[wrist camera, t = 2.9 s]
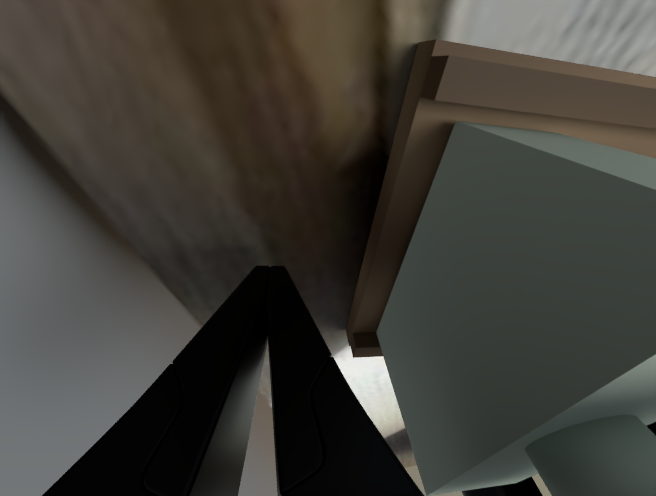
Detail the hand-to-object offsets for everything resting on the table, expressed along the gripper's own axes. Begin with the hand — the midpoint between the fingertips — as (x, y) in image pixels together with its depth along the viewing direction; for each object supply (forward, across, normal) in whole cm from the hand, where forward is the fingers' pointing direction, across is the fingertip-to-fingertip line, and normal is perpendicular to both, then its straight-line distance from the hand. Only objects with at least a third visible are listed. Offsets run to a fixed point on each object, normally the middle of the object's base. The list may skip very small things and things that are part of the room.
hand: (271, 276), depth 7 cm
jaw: (+1, -6, 0) cm, 6 cm away
